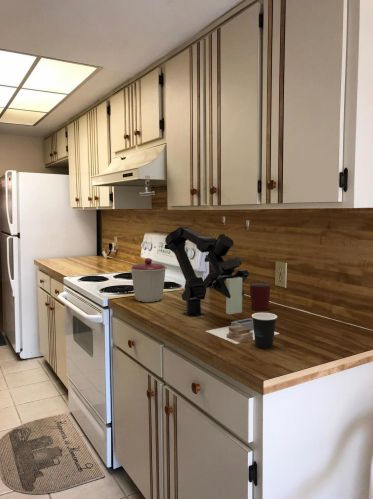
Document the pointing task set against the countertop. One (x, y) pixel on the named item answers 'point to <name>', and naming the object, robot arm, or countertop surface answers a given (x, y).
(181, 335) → the countertop surface
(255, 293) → the mug
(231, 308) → the green board
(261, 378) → the countertop surface
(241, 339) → the offcut stack
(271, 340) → the dixie cup
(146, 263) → the canister
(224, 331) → the white flat slab
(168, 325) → the countertop surface
